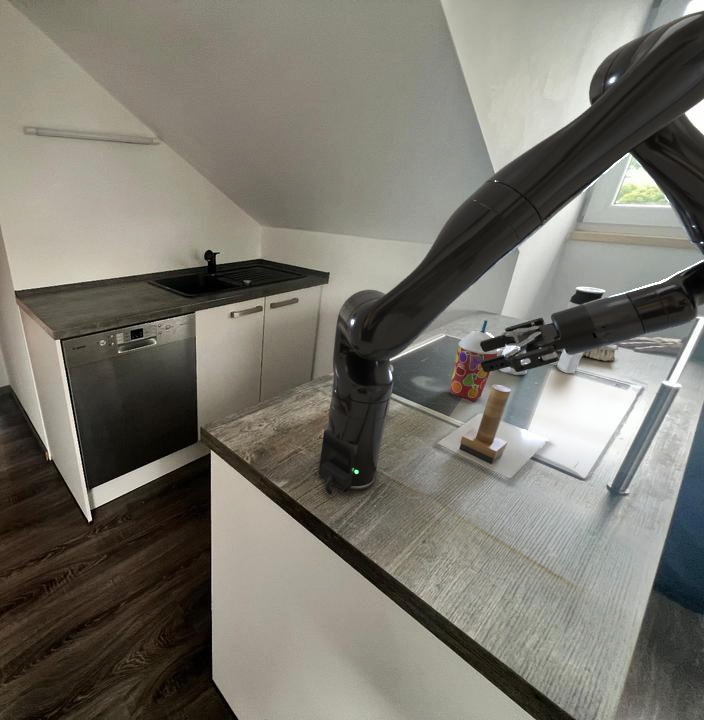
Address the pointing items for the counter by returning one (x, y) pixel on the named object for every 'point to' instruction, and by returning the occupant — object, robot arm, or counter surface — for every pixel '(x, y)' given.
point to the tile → (514, 454)
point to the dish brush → (488, 428)
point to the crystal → (508, 369)
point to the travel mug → (585, 296)
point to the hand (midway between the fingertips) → (481, 356)
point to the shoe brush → (601, 353)
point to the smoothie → (471, 365)
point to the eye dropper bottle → (569, 362)
